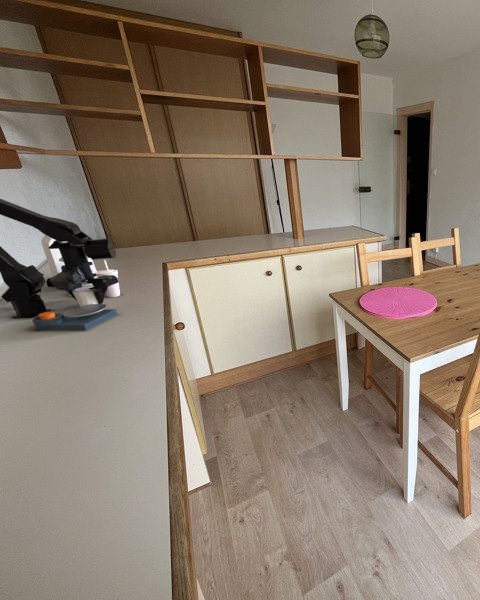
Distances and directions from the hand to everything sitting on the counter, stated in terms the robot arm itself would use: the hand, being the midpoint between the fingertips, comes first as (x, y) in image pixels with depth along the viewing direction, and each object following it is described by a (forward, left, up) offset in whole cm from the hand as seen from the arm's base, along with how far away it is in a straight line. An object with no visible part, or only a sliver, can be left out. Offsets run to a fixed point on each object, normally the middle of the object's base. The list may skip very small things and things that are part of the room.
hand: (91, 304), depth 109 cm
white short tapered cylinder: (0, 0, -1) cm, 1 cm away
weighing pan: (+8, -11, +2) cm, 14 cm away
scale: (+6, -12, -1) cm, 13 cm away
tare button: (+1, -16, +2) cm, 16 cm away
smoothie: (-2, +12, -1) cm, 12 cm away
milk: (-27, +26, -1) cm, 38 cm away
